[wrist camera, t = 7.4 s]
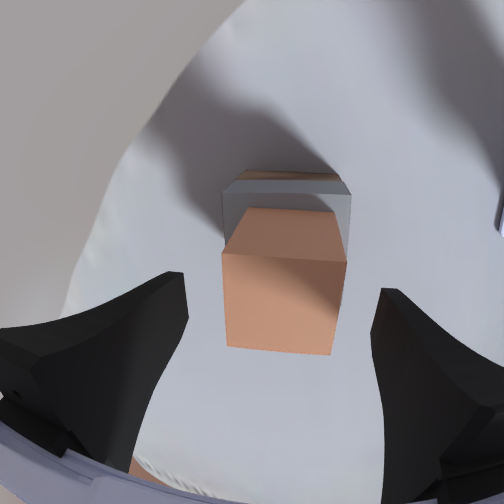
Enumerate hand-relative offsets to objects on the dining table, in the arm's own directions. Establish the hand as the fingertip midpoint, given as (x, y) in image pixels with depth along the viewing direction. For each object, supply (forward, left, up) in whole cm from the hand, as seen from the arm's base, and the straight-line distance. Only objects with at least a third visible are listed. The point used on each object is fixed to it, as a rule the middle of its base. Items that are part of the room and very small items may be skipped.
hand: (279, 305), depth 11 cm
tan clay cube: (0, 0, -5) cm, 5 cm away
